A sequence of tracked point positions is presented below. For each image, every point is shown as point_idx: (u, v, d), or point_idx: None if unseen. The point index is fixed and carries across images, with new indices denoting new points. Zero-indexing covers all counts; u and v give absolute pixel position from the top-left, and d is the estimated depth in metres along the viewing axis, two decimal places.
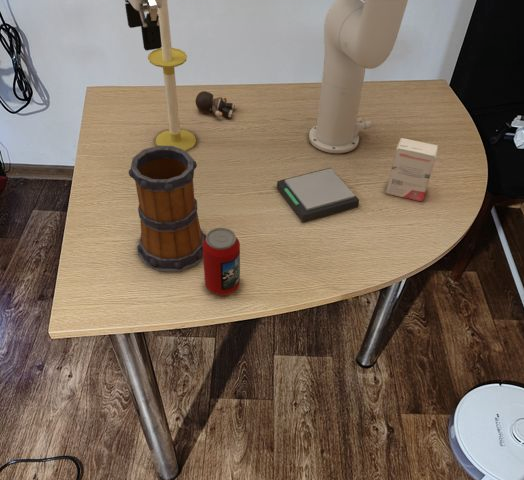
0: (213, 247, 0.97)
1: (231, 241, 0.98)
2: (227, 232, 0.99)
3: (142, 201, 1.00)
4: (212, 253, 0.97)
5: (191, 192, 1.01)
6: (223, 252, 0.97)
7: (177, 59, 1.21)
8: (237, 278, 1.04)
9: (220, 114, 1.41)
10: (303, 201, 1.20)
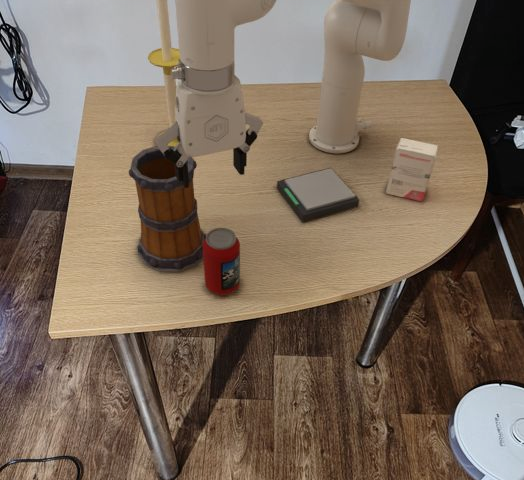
0: (213, 247, 0.97)
1: (231, 241, 0.98)
2: (227, 232, 0.99)
3: (142, 201, 1.00)
4: (212, 253, 0.97)
5: (191, 192, 1.01)
6: (223, 252, 0.97)
7: (177, 59, 1.21)
8: (237, 278, 1.04)
9: None
10: (303, 201, 1.20)
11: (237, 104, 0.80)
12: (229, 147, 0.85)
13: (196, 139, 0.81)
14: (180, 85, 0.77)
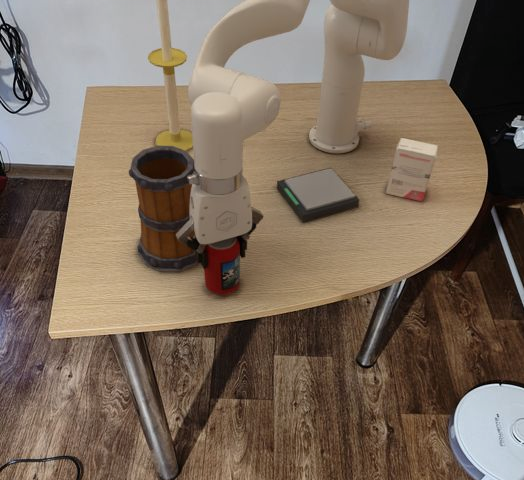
0: (213, 247, 0.97)
1: (231, 241, 0.98)
2: None
3: (142, 201, 1.00)
4: (212, 253, 0.97)
5: None
6: (223, 252, 0.97)
7: (177, 59, 1.21)
8: (237, 278, 1.04)
9: None
10: (303, 201, 1.20)
11: (245, 201, 0.91)
12: (237, 234, 0.95)
13: (208, 231, 0.92)
14: (194, 187, 0.88)
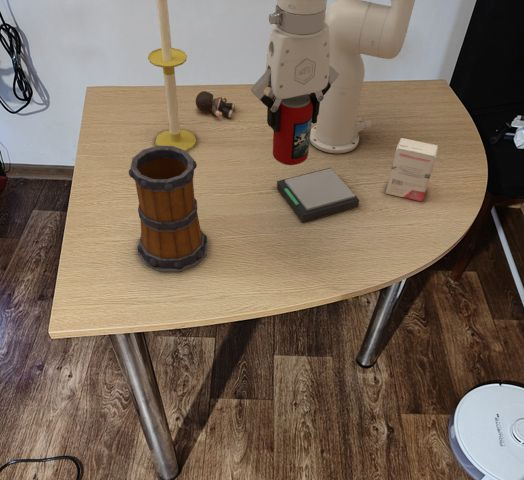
0: (287, 106, 0.94)
1: (305, 100, 0.95)
2: None
3: (142, 201, 1.00)
4: (286, 112, 0.95)
5: (191, 192, 1.01)
6: (297, 110, 0.94)
7: (177, 59, 1.21)
8: (307, 146, 1.01)
9: (220, 114, 1.41)
10: (303, 201, 1.20)
11: (325, 48, 0.88)
12: (313, 90, 0.93)
13: (286, 81, 0.89)
14: (275, 30, 0.85)
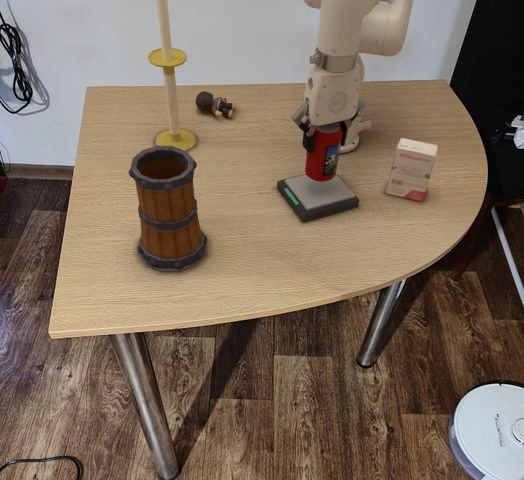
0: (321, 131, 1.09)
1: (336, 126, 1.10)
2: None
3: (142, 201, 1.00)
4: (320, 137, 1.10)
5: (191, 192, 1.01)
6: (330, 135, 1.09)
7: (177, 59, 1.21)
8: (336, 166, 1.16)
9: (220, 114, 1.41)
10: (303, 201, 1.20)
11: (355, 83, 1.03)
12: (344, 118, 1.08)
13: (322, 111, 1.05)
14: (314, 68, 1.01)
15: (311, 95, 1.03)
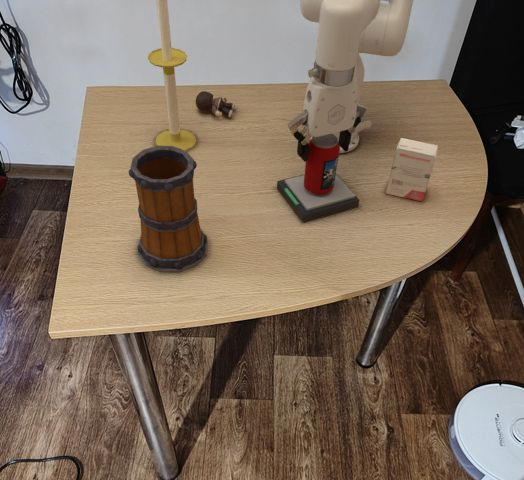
0: (319, 146, 1.12)
1: (334, 142, 1.13)
2: (329, 135, 1.15)
3: (142, 201, 1.00)
4: (318, 152, 1.13)
5: (191, 192, 1.01)
6: (327, 150, 1.12)
7: (177, 59, 1.21)
8: (334, 179, 1.19)
9: (220, 114, 1.41)
10: (303, 201, 1.20)
11: (353, 96, 1.05)
12: (342, 129, 1.10)
13: (321, 123, 1.07)
14: (313, 82, 1.03)
15: (310, 107, 1.05)
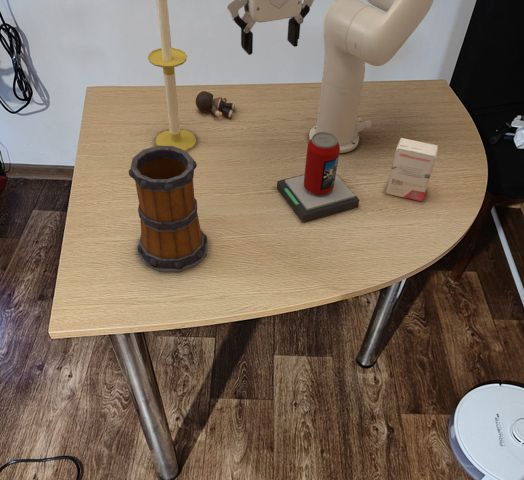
0: (319, 146, 1.12)
1: (334, 142, 1.13)
2: (329, 135, 1.14)
3: (142, 201, 1.00)
4: (318, 152, 1.13)
5: (191, 192, 1.01)
6: (327, 150, 1.12)
7: (177, 59, 1.21)
8: (334, 179, 1.19)
9: (220, 114, 1.41)
10: (303, 201, 1.20)
11: None
12: (288, 15, 1.01)
13: (262, 4, 0.98)
14: None
15: None
